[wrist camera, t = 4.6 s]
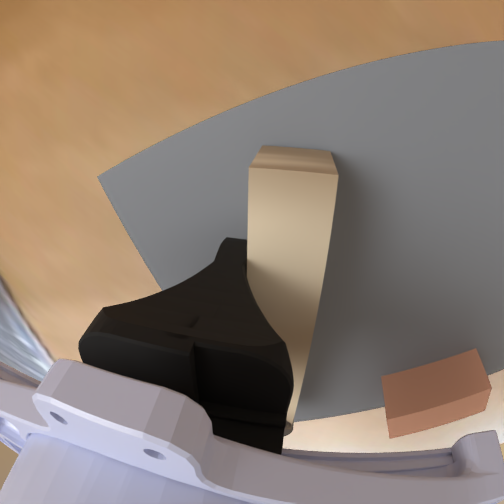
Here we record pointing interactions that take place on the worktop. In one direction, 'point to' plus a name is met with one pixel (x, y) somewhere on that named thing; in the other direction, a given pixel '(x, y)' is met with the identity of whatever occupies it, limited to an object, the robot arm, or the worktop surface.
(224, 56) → the worktop surface
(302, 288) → the stool leg
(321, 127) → the stool seat
